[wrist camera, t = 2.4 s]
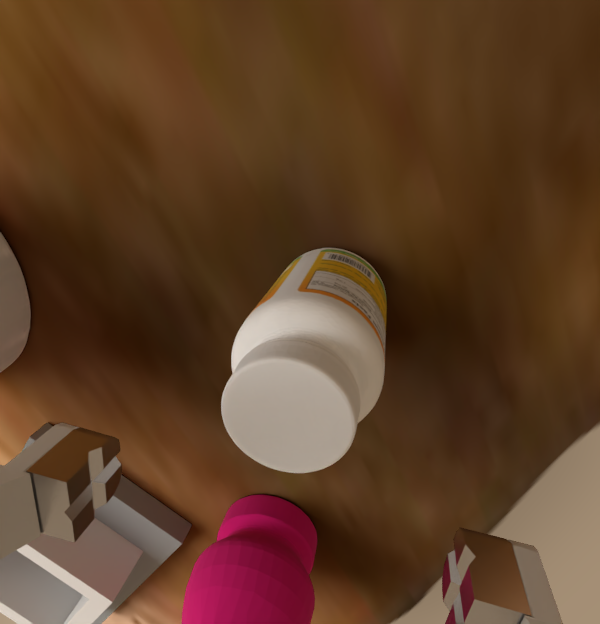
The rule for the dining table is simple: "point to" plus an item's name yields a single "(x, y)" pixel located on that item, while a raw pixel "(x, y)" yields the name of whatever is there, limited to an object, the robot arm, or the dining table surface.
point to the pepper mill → (255, 567)
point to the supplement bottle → (308, 363)
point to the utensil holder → (12, 307)
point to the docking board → (90, 560)
